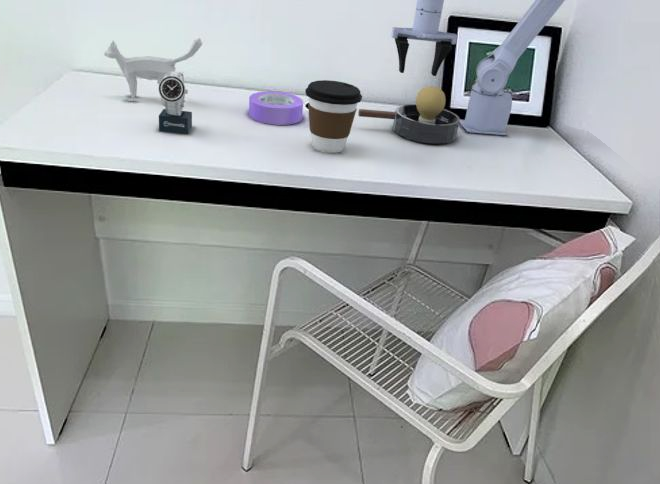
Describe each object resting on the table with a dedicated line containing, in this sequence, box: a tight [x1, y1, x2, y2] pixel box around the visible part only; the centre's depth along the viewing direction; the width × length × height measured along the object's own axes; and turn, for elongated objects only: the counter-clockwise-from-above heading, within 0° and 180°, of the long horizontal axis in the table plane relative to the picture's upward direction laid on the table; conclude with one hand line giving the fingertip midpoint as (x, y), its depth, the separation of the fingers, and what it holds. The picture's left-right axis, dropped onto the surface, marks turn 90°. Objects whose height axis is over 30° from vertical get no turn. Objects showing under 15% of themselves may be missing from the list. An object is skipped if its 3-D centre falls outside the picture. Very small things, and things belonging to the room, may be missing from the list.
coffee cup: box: [304, 79, 363, 154], centre depth 124 cm, size 11×11×12 cm
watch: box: [157, 71, 193, 135], centre depth 123 cm, size 6×8×11 cm
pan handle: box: [357, 108, 396, 120], centre depth 138 cm, size 8×2×2 cm, turn 97°
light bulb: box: [415, 85, 447, 124], centre depth 139 cm, size 6×6×10 cm
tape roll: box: [248, 90, 304, 126], centre depth 139 cm, size 12×12×4 cm
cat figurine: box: [103, 37, 203, 102], centre depth 135 cm, size 4×20×14 cm, turn 97°
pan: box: [392, 103, 461, 145], centre depth 141 cm, size 14×14×4 cm
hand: (417, 73), depth 145 cm, fingers open, 7 cm apart
